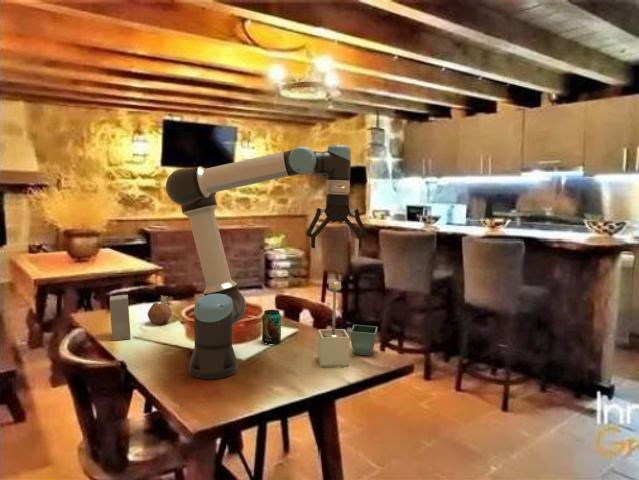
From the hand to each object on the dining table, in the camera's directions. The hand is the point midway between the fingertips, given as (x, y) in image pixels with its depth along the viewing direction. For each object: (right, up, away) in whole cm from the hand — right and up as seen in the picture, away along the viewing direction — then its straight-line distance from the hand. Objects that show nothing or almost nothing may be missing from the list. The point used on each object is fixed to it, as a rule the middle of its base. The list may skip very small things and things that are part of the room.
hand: (335, 258), depth 158 cm
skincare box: (-81, -31, +24) cm, 90 cm away
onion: (-73, -29, +43) cm, 90 cm away
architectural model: (-77, -28, +65) cm, 104 cm away
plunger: (-1, -26, +3) cm, 26 cm away
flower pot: (+10, -35, +13) cm, 39 cm away
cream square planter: (-1, -35, +3) cm, 35 cm away
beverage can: (-24, -33, +23) cm, 46 cm away
